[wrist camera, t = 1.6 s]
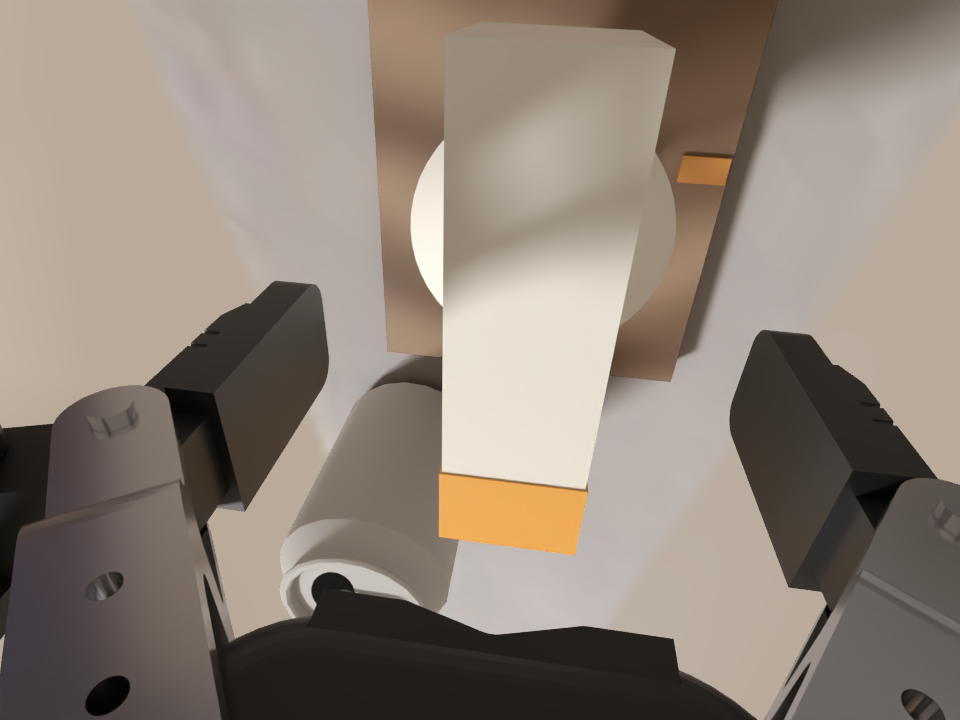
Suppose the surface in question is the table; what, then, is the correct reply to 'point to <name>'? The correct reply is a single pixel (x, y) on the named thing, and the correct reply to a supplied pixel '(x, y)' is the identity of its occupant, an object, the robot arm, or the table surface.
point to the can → (375, 508)
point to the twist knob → (538, 261)
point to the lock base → (680, 148)
